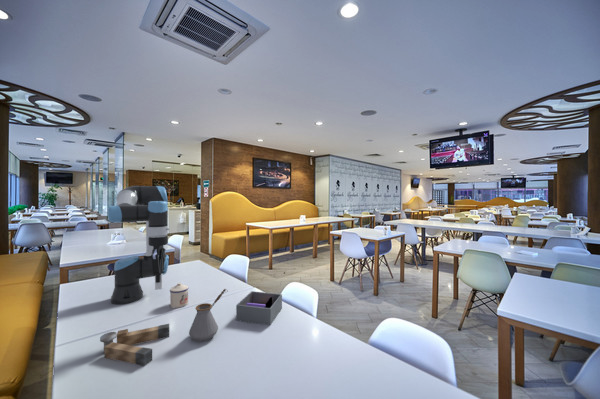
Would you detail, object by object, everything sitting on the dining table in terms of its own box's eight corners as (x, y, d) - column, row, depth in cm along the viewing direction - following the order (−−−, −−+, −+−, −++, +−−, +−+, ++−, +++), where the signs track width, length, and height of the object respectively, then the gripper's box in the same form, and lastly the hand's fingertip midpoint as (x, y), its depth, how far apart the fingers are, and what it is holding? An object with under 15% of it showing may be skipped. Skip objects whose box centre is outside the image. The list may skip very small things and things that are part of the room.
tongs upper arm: (98, 356, 92) (98, 340, 92) (102, 347, 98) (102, 332, 97) (168, 340, 102) (168, 326, 102) (169, 332, 108) (169, 319, 108)
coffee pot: (205, 347, 98) (205, 309, 97) (182, 341, 102) (182, 305, 101) (236, 321, 118) (236, 289, 118) (216, 317, 122) (216, 286, 121)
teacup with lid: (182, 308, 130) (182, 286, 130) (166, 307, 131) (165, 285, 131) (194, 299, 142) (194, 279, 142) (179, 298, 143) (179, 278, 143)
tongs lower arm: (96, 356, 92) (95, 344, 92) (109, 348, 97) (109, 336, 97) (144, 366, 87) (144, 353, 87) (156, 356, 92) (156, 344, 92)
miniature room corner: (267, 320, 119) (267, 306, 119) (244, 317, 121) (244, 304, 121) (274, 308, 131) (274, 296, 131) (253, 306, 133) (253, 294, 133)
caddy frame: (236, 320, 118) (236, 305, 118) (251, 304, 135) (251, 291, 135) (270, 325, 114) (270, 309, 114) (282, 308, 131) (282, 294, 131)
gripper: (163, 238, 105) (164, 293, 105) (171, 233, 118) (171, 283, 118) (143, 238, 103) (144, 295, 104) (153, 234, 116) (154, 284, 116)
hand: (158, 288), depth 111 cm, fingers closed
